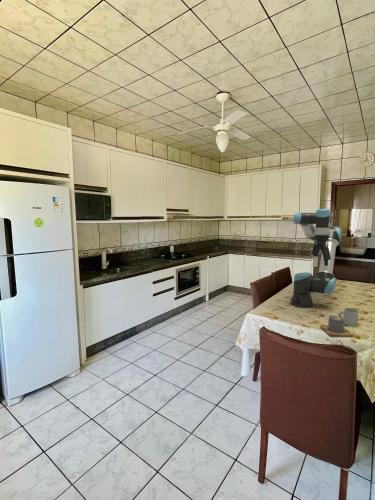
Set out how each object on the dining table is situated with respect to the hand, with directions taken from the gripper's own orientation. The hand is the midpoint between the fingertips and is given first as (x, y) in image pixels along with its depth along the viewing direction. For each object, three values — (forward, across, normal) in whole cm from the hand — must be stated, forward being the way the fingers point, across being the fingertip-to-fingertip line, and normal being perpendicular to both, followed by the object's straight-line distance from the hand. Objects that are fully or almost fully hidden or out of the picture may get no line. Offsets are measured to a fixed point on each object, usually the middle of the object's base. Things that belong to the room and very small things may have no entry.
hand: (319, 268), depth 161 cm
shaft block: (+32, +21, +1) cm, 38 cm away
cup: (+32, +10, +14) cm, 36 cm away
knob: (+30, +21, +1) cm, 37 cm away
